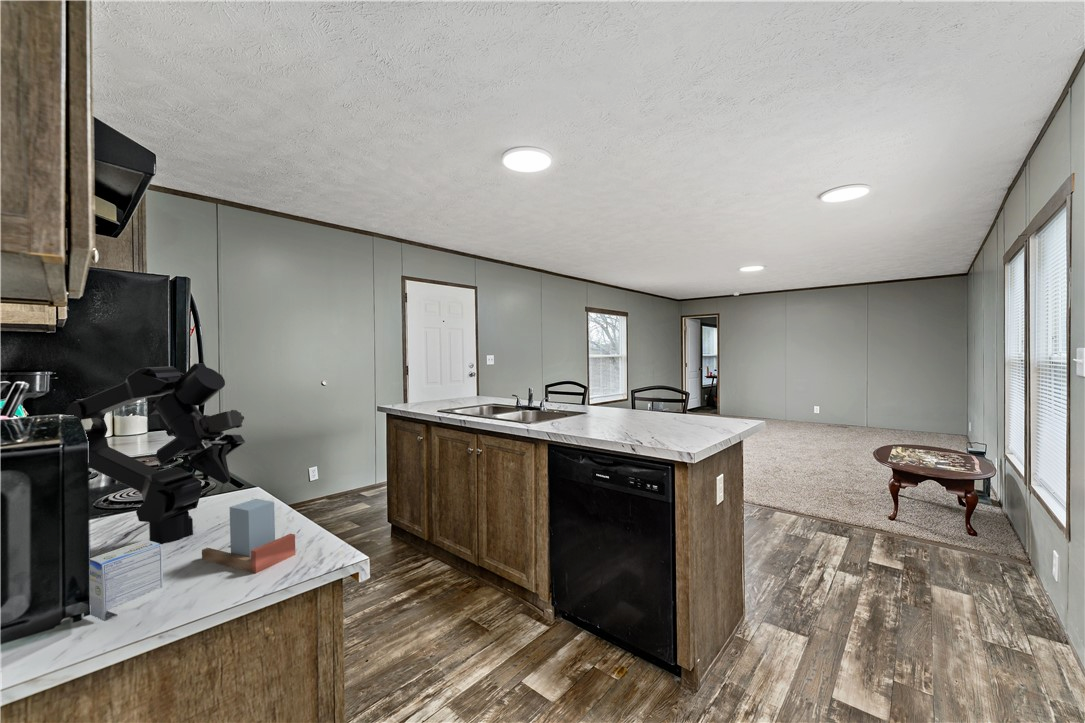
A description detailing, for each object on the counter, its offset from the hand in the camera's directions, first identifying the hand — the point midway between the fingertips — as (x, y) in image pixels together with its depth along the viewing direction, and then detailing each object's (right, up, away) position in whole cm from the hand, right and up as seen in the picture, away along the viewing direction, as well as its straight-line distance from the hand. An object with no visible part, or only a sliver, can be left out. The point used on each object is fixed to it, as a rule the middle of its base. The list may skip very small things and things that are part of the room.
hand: (227, 482), depth 93 cm
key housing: (+8, -14, -6) cm, 17 cm away
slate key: (+9, -12, -7) cm, 17 cm away
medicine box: (-2, -14, -20) cm, 25 cm away
